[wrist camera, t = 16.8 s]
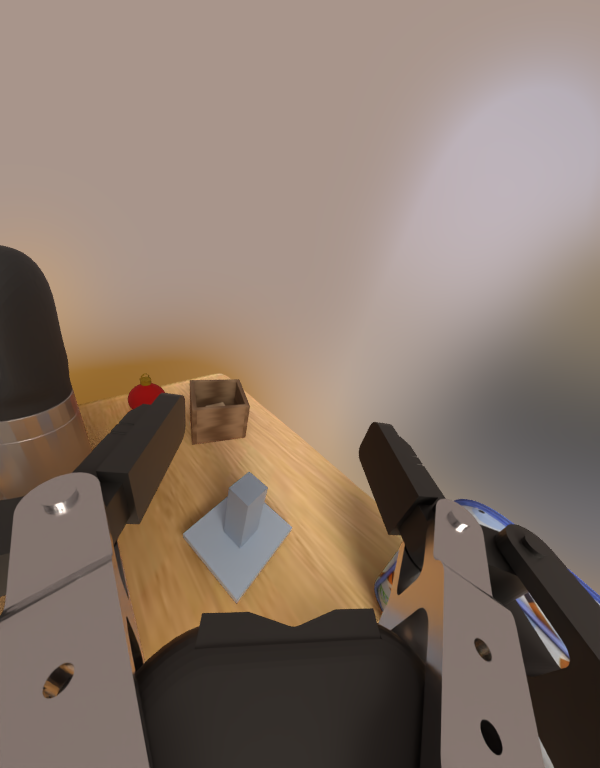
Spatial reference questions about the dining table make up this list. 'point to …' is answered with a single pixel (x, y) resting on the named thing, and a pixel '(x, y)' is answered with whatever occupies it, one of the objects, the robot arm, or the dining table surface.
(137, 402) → the christmas ornament
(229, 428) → the block
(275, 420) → the dining table surface
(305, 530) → the dining table surface
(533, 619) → the lunch box
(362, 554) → the dining table surface
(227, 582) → the lid
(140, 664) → the robot arm
